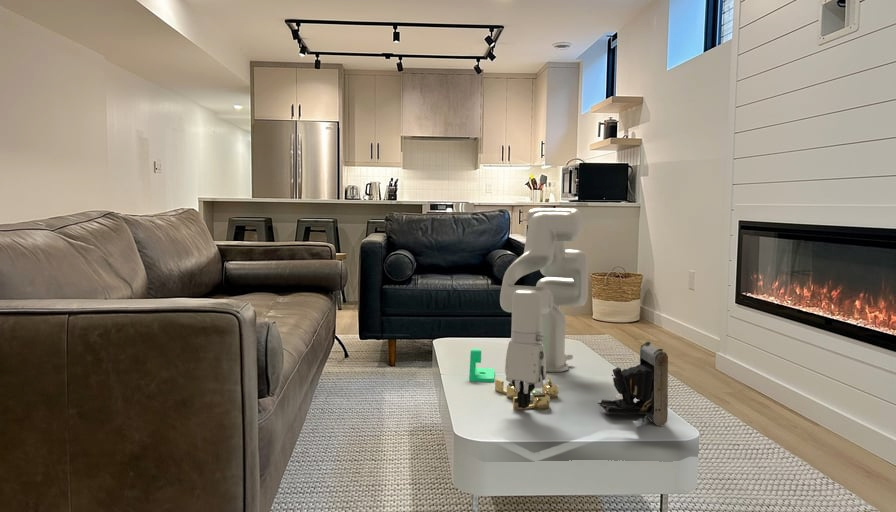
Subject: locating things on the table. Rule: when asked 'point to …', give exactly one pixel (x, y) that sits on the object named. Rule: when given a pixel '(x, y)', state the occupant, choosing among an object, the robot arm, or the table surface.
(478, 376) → the camera mount
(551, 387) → the foot screw
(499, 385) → the foot screw
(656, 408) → the vintage camera
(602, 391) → the table surface
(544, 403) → the foot screw
